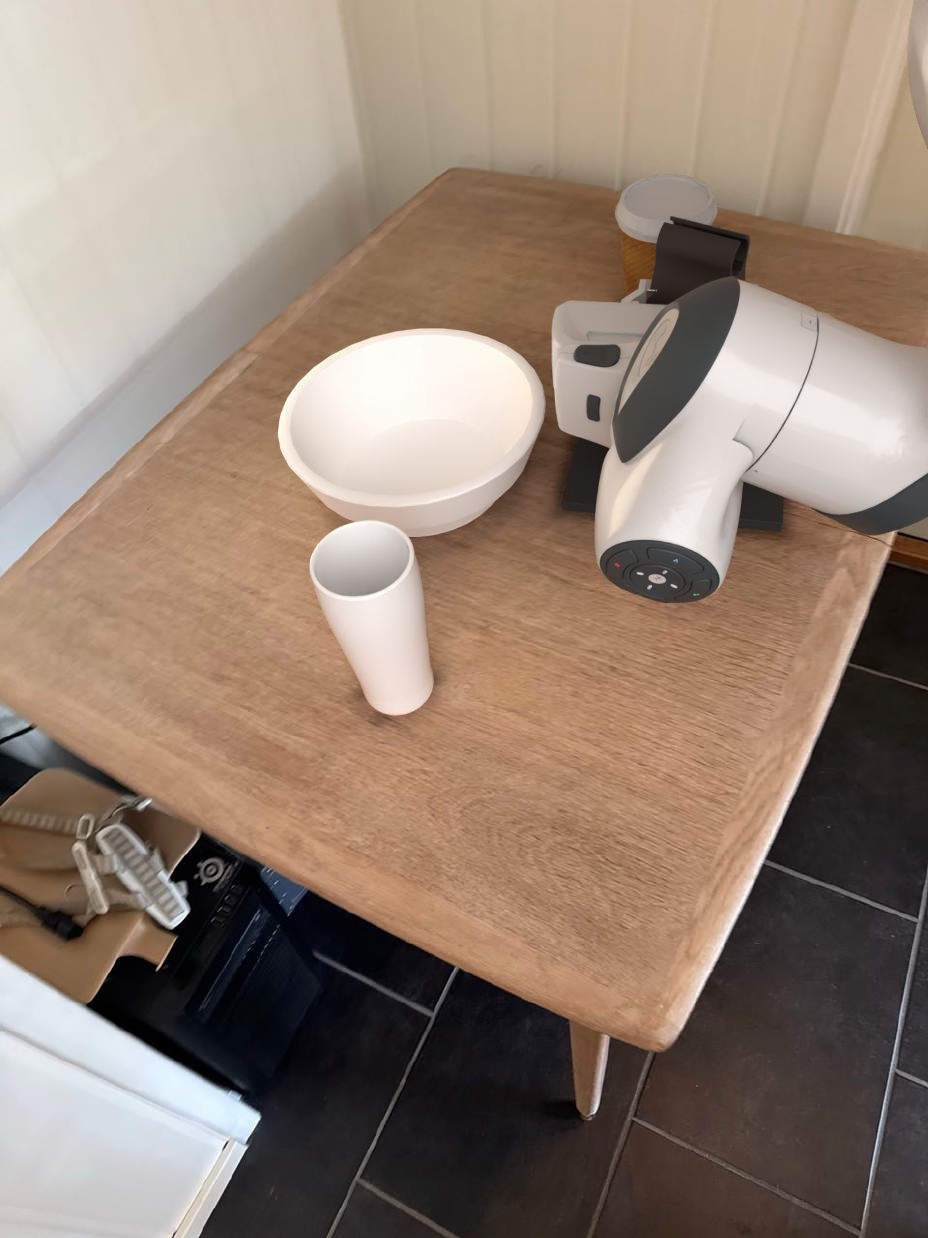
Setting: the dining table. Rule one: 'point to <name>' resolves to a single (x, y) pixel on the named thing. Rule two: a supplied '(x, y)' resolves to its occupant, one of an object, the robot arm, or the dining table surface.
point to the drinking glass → (376, 611)
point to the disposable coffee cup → (657, 218)
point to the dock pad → (585, 475)
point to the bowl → (414, 427)
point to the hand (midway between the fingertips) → (696, 289)
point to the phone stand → (695, 258)
